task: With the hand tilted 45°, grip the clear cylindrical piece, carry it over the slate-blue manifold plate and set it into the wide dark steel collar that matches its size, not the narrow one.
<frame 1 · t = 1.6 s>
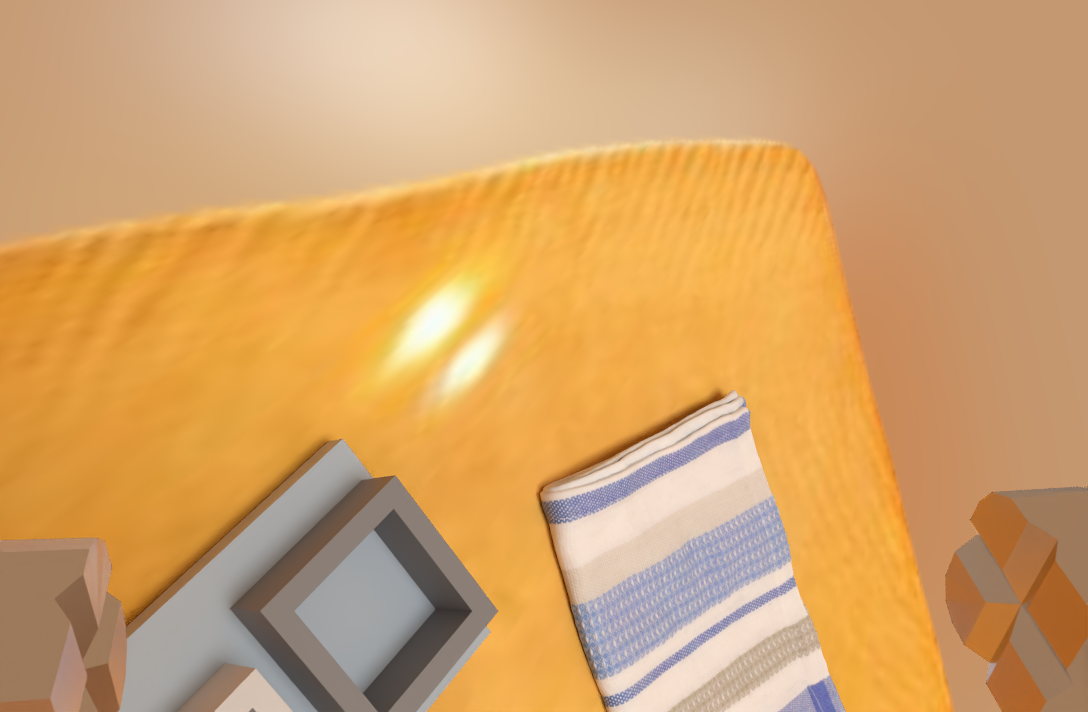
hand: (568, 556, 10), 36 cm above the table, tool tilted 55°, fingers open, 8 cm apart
dish towel: (687, 620, 61), on the table
manifold plate: (282, 666, 45), on the table
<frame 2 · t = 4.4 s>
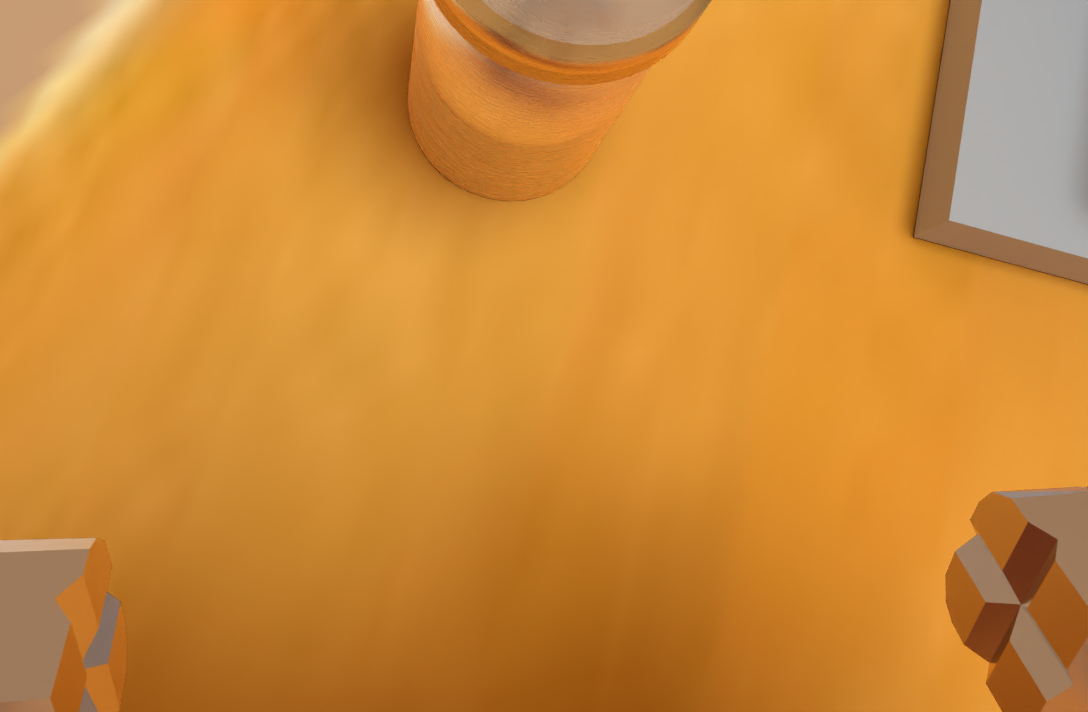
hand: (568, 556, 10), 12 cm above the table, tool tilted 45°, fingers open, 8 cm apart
clear cylindrical piece: (506, 105, 23), on the table
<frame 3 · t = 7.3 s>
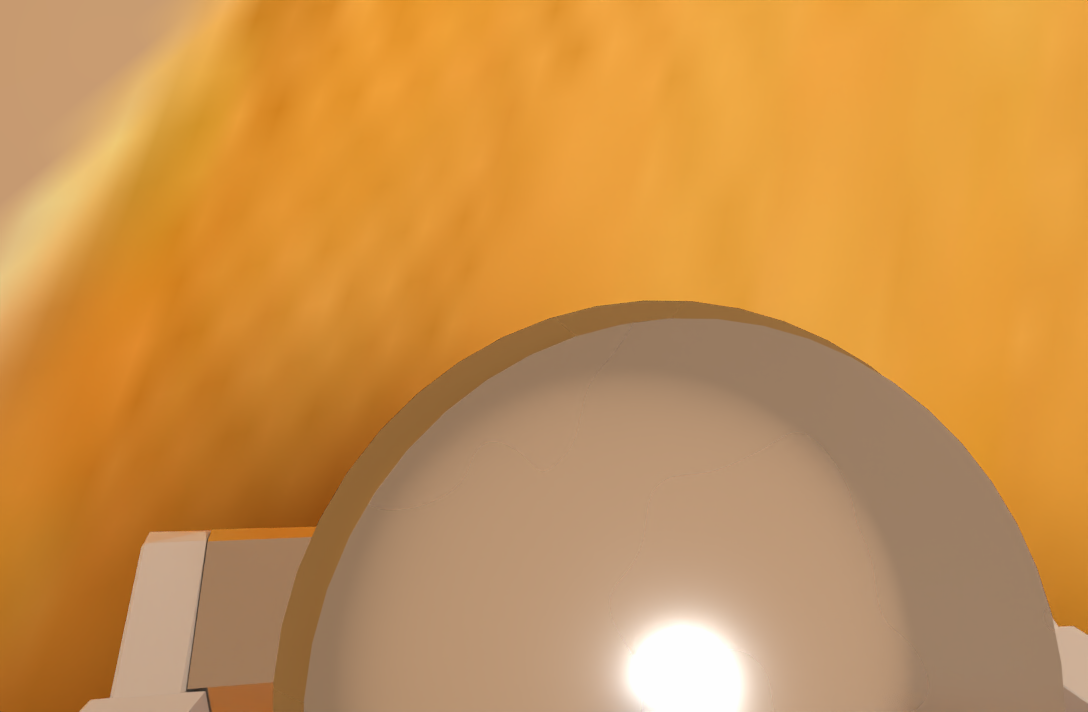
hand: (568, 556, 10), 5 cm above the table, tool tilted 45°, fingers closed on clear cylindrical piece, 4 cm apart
clear cylindrical piece: (507, 584, 14), on the table, touching gripper
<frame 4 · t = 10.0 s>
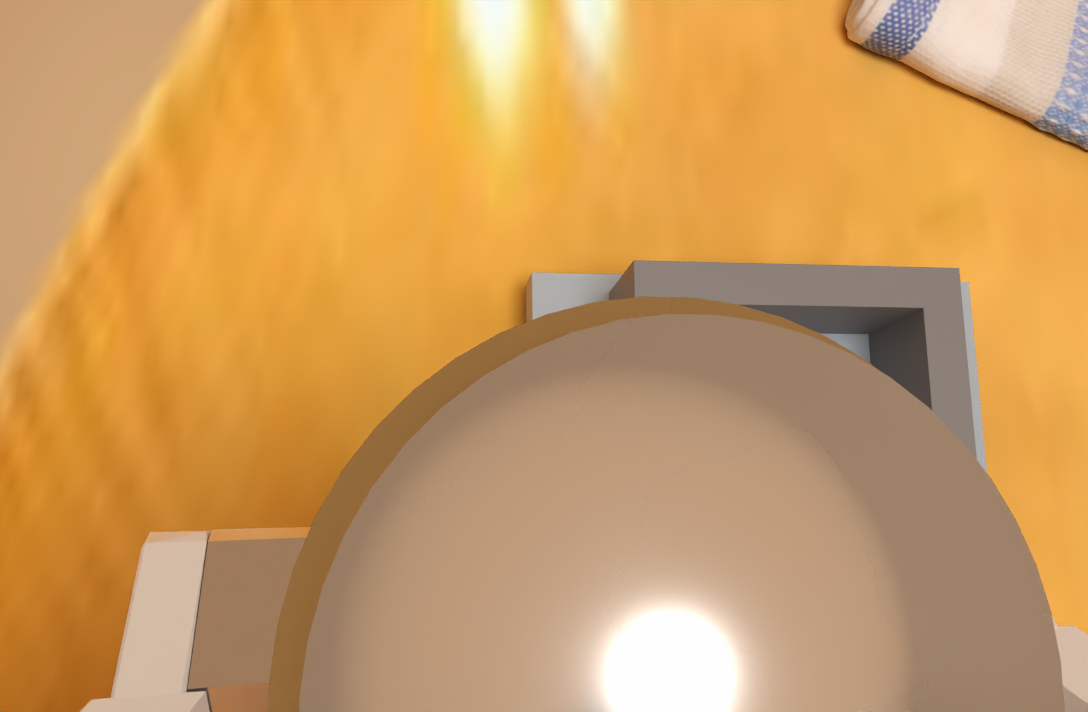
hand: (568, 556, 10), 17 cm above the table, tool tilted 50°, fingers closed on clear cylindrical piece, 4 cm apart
manifold plate: (754, 584, 27), on the table
clear cylindrical piece: (506, 581, 14), point 13 cm above the table, touching gripper
when the fingers open (7 cm above the table, at t = 12.9 s): clear cylindrical piece stays where it is, resting on manifold plate.
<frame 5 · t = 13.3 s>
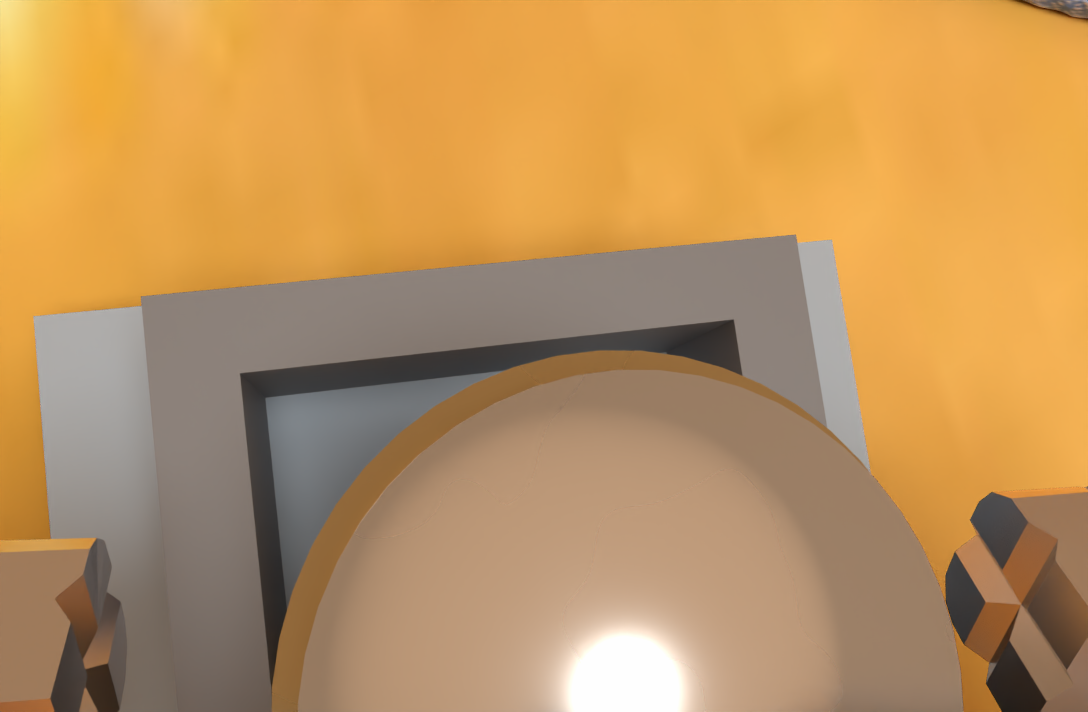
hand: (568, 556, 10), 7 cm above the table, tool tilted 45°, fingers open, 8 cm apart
clear cylindrical piece: (494, 589, 15), point 2 cm above the table, touching manifold plate
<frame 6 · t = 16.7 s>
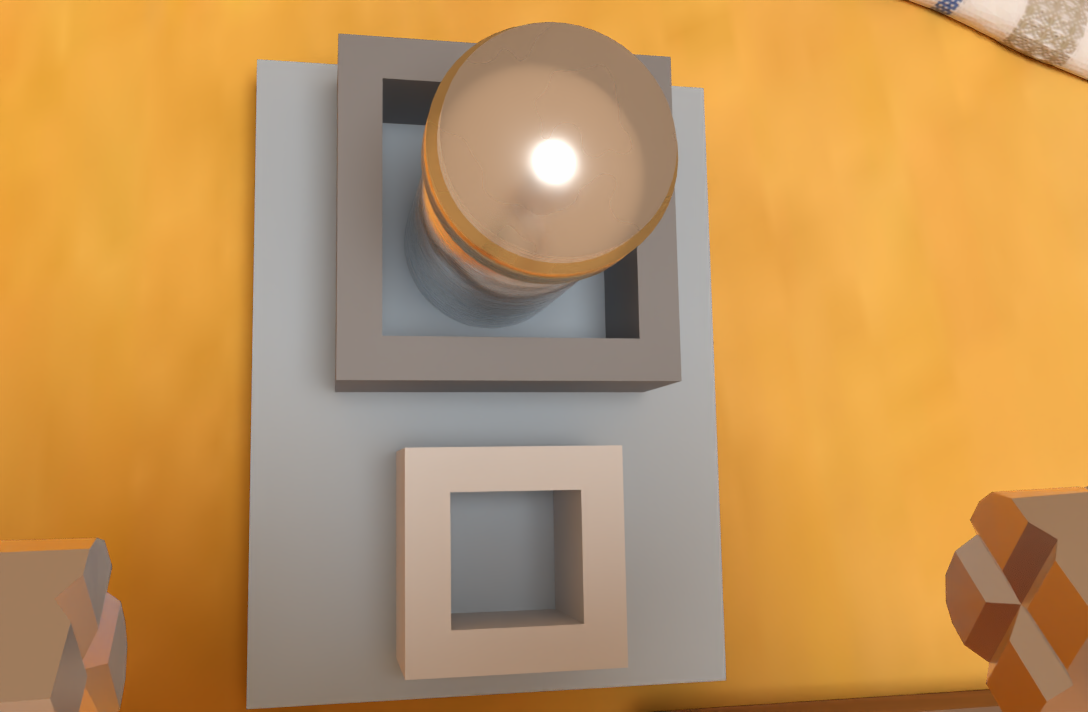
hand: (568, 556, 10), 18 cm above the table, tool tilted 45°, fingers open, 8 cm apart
manifold plate: (485, 378, 28), on the table
clear cylindrical piece: (489, 245, 27), point 1 cm above the table, touching manifold plate
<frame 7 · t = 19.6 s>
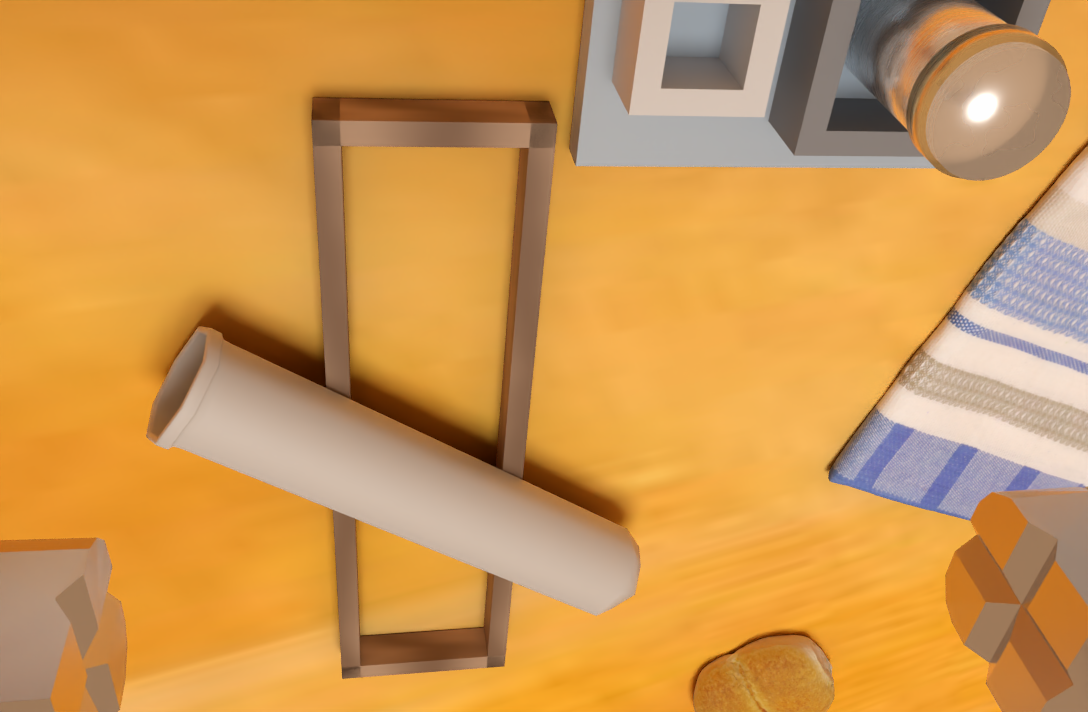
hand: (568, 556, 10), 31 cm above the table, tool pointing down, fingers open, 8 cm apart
dish towel: (1072, 336, 53), on the table
tube: (426, 454, 50), resting on tube tray
bread roll: (758, 668, 67), on the table
manifold plate: (790, 6, 39), on the table
tube tray: (426, 425, 49), on the table
clear cylindrical piece: (888, 20, 39), point 1 cm above the table, touching manifold plate
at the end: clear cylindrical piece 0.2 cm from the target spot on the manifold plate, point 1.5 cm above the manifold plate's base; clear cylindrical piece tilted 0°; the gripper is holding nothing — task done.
